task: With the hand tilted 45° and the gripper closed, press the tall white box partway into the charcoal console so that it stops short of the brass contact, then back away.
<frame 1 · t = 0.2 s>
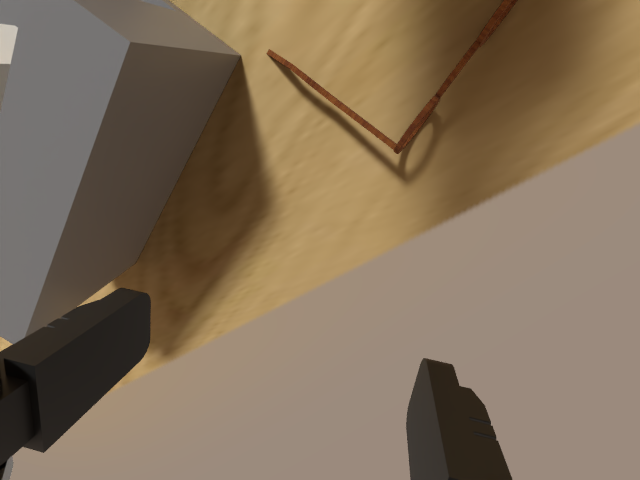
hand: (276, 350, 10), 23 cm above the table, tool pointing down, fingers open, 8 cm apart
console: (85, 108, 32), on the table
glasses: (386, 23, 26), on the table
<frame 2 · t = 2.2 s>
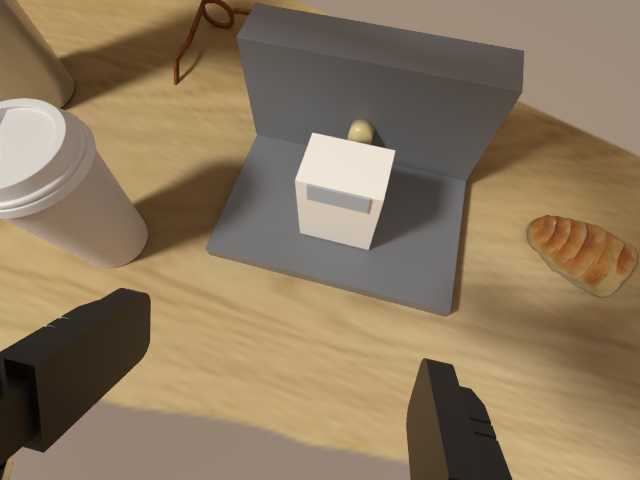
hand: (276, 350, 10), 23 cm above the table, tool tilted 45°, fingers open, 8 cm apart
coffee cup: (117, 240, 38), on the table
pastry: (571, 260, 37), on the table
white box: (342, 196, 33), point 6 cm above the table, slide at 0.0 cm
console: (346, 200, 40), on the table
glasses: (236, 64, 50), on the table
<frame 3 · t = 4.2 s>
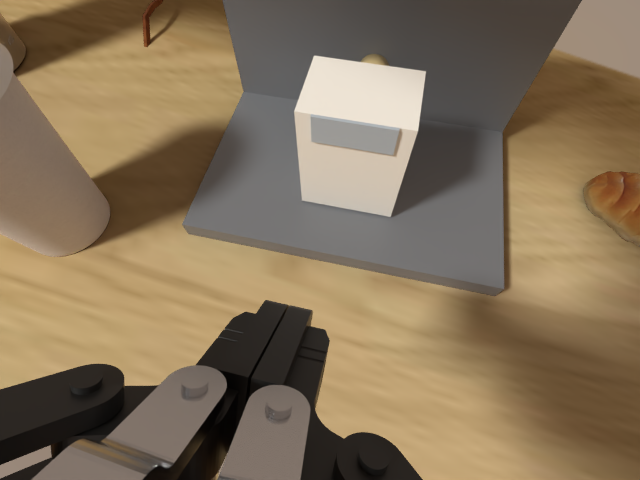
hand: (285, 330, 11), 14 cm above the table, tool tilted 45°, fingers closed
coffee cup: (71, 222, 30), on the table
white box: (355, 145, 25), point 6 cm above the table, slide at 0.0 cm
console: (357, 163, 32), on the table
glasses: (217, 24, 43), on the table
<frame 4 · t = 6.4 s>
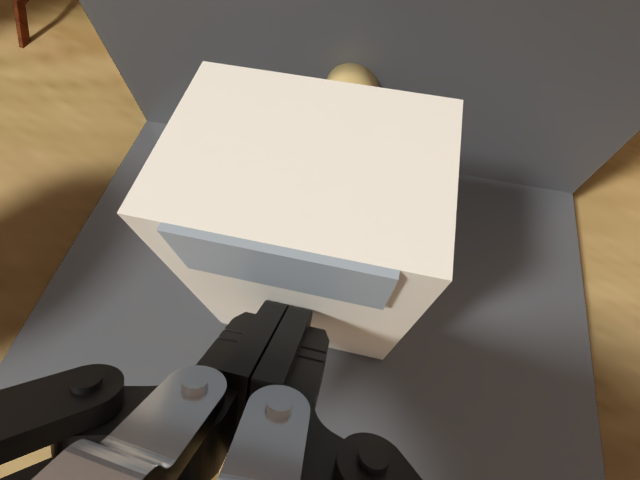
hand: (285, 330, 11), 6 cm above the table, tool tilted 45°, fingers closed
white box: (310, 243, 12), point 6 cm above the table, slide at 0.5 cm, touching gripper
console: (327, 245, 19), on the table
glasses: (137, 14, 30), on the table
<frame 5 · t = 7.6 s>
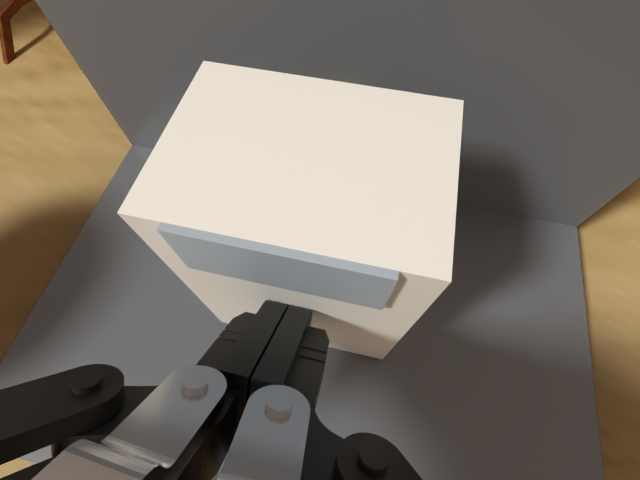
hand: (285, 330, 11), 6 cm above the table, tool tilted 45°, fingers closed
white box: (310, 242, 12), point 6 cm above the table, slide at 2.5 cm
console: (318, 279, 18), on the table
glasses: (127, 28, 29), on the table
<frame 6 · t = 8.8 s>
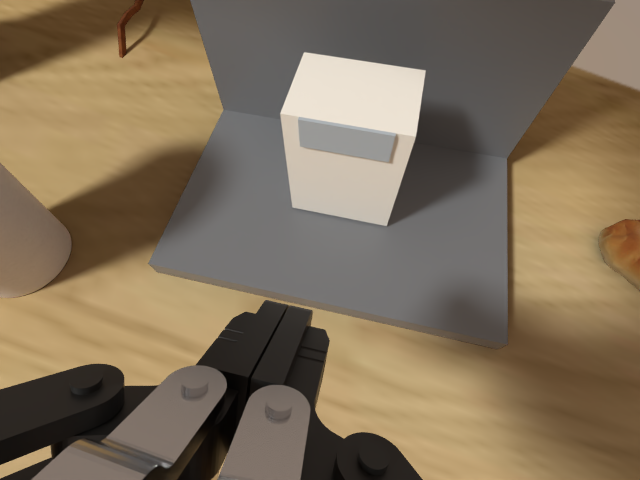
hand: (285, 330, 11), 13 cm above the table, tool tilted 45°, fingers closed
coffee cup: (28, 257, 27), on the table
white box: (349, 149, 23), point 6 cm above the table, slide at 2.5 cm
console: (346, 191, 29), on the table
glasses: (200, 32, 40), on the table
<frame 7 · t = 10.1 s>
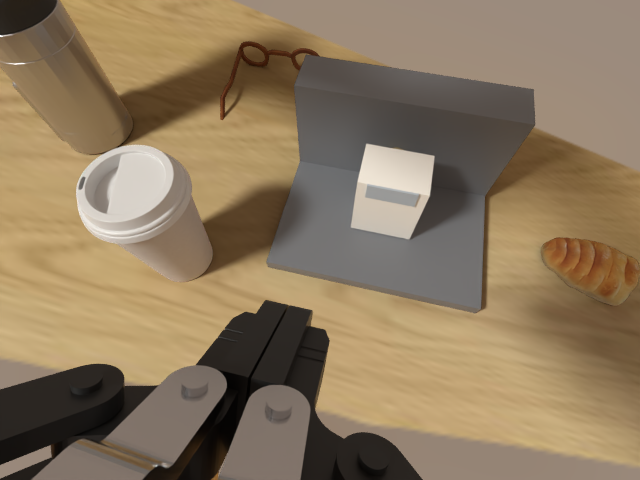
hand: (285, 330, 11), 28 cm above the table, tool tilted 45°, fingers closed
coffee cup: (186, 257, 44), on the table
pastry: (582, 274, 43), on the table
white box: (389, 195, 40), point 6 cm above the table, slide at 2.5 cm
console: (382, 216, 46), on the table
glasses: (272, 98, 57), on the table
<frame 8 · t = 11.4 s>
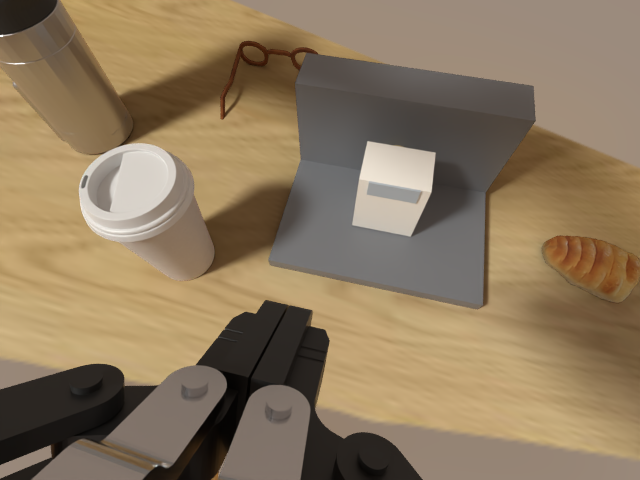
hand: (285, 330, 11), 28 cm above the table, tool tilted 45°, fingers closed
coffee cup: (188, 256, 44), on the table
pastry: (583, 271, 43), on the table
white box: (390, 192, 40), point 6 cm above the table, slide at 2.5 cm
console: (383, 213, 46), on the table
glasses: (272, 98, 57), on the table
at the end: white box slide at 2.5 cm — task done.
